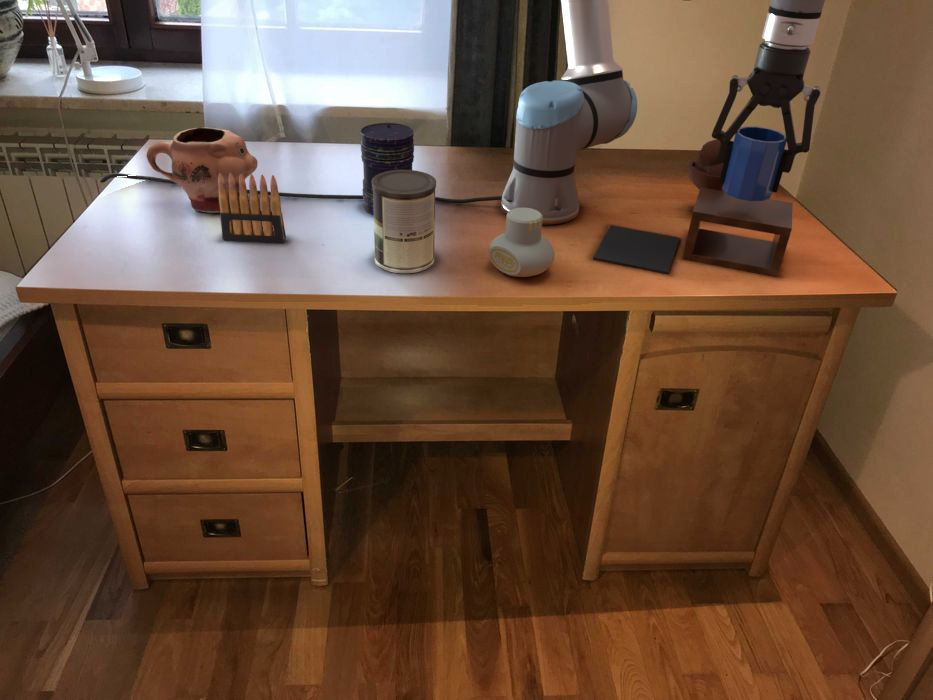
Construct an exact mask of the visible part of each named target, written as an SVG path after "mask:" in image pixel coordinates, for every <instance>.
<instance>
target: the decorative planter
mask: <svg viewBox="0 0 933 700" xmlns="http://www.w3.org/2000/svg"><path fill="white" fill-rule="evenodd" d="M246 144H247V143H246V141H245V140H244V138H243V137H241V136H239V135H237V134H235V133H234V132H232V131H231V130H228V129H222V128H221V129H220V128H213V127H192V128H188V129H185V130H181V131H179V132H178V133H176V134H175V135H174V137H173V139H172V141H161V142H160V141H159V142H155V143H153V144H152V145H150V146H149V147H148V148H147V151H146V160H147V162H148V165H150V167H151V169H153V170H154V171H155V172H157V173H159V174H161V175H163V176H164V177H165V178H166V179H170V180H172V181H173V182H175V183H177V184H176V185H178V186H180V187H181V188H182V189H183V190H184V192H185V193H186V195H187V198H188V199H189V202H190V205H191V207H192V209H193V210H195V211H197V212H201V213H202V212H204V213H221V210H220V203H219V187H218V176H219V173H221V174H222V176H223V178H224V181H225V185H226V190H227V194H228V197H229V184H228V180H229V174H230V173H231V174H232V175H233V177H234V180H235V184H236V189H237V194H238V197H239V195H240V194H239V176H240V174H242V175H243V177H244V179H245V180H246V179H247V178H248V177H250V175H251V174H252V175H253V173H255V171H256V170H257V168H258V165H259V164H258V163H259V162H258V159H257V157H255V156H254V155H252V154H251V153H250V152H249V150H248V148H247V145H246ZM159 154H166V155H167V156H168V157H169V158H170V159H171V172H168V171H165V170H164V169H162V168H160V167H159V165H158V164H157V162H156V160H157V159H156V158H157V156H158V155H159ZM239 202H240V201H239ZM229 203H230V202H229Z"/></svg>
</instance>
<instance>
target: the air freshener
mask: <svg viewBox="0 0 933 700" xmlns="http://www.w3.org/2000/svg"><path fill="white" fill-rule="evenodd" d="M542 221H543V216H542V214H541V213H540V212H539V211H537V210H534V209H531V208H515V209H512V210H510V211H509V212H508V213H507V215H506V219H505V228H504V229H505V230H504V232H503V233H500V234H499V235H498V236H496V237H495V238H493V240H492V241H491V243H490V244H489V246H488V258H489V260H490V262H491V264H492V265H493V266H494V267H495V268H496V269H498V270H499V271H500V272H501V273H503V274H505V275H507V276H508V277H509V276H510V277H517V278H529V277H534V276H538V275H540V274H542V273H544V272H545V271H547V270H548V269H549V268H550V267H551V266H552V265H553V262H554V260H555V250H554V247H553V245H552V244H551V242H550V240H548V239H547V238H546V237H544V236H543V235H542V231H543V225H542Z"/></svg>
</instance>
